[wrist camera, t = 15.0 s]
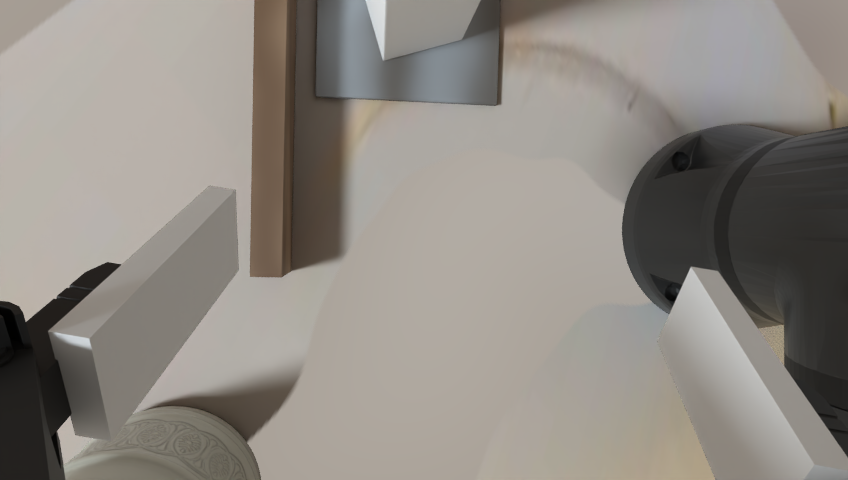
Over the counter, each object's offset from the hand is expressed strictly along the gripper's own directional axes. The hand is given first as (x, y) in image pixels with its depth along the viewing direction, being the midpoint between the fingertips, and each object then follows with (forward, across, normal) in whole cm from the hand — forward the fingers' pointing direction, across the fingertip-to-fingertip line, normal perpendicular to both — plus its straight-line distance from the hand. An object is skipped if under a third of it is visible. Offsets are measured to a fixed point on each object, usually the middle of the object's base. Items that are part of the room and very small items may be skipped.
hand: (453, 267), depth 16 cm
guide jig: (+25, -6, -2) cm, 26 cm away
